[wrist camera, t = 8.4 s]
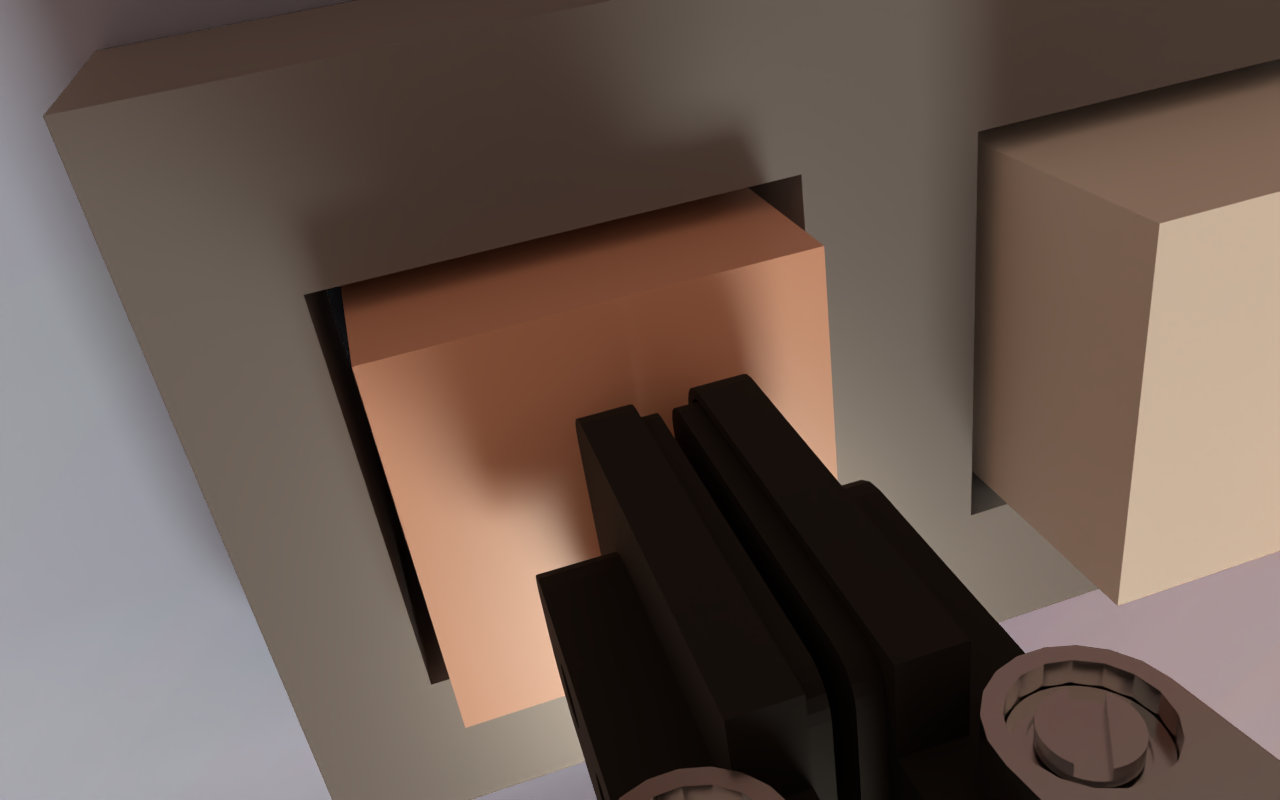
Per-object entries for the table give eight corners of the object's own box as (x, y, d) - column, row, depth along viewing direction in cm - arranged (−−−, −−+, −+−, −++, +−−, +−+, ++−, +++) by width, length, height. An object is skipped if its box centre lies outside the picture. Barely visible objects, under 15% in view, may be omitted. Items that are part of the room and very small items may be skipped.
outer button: (685, 139, 13) (824, 245, 10) (721, 436, 16) (844, 605, 12) (332, 222, 13) (352, 366, 9) (422, 522, 15) (465, 727, 11)
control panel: (1714, -264, 15) (2003, -282, 13) (1537, 307, 20) (1723, 378, 17) (95, 50, 11) (43, 115, 9) (337, 677, 16) (349, 840, 13)
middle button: (1239, 44, 14) (1559, 117, 10) (1197, 350, 16) (1448, 492, 12) (926, 118, 13) (1158, 223, 9) (927, 429, 15) (1117, 606, 12)
